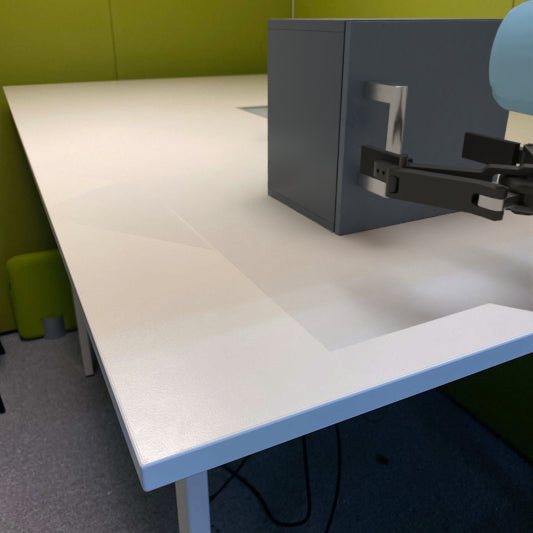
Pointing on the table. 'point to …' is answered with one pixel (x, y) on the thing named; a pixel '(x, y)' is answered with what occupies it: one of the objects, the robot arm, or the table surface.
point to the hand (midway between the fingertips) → (416, 151)
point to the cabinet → (308, 111)
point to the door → (411, 108)
